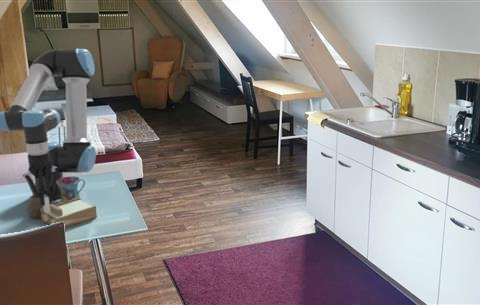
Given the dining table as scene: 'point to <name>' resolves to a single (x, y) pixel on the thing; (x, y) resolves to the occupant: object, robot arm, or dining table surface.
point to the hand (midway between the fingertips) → (47, 212)
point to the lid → (67, 208)
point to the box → (71, 215)
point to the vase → (34, 207)
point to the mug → (69, 188)
